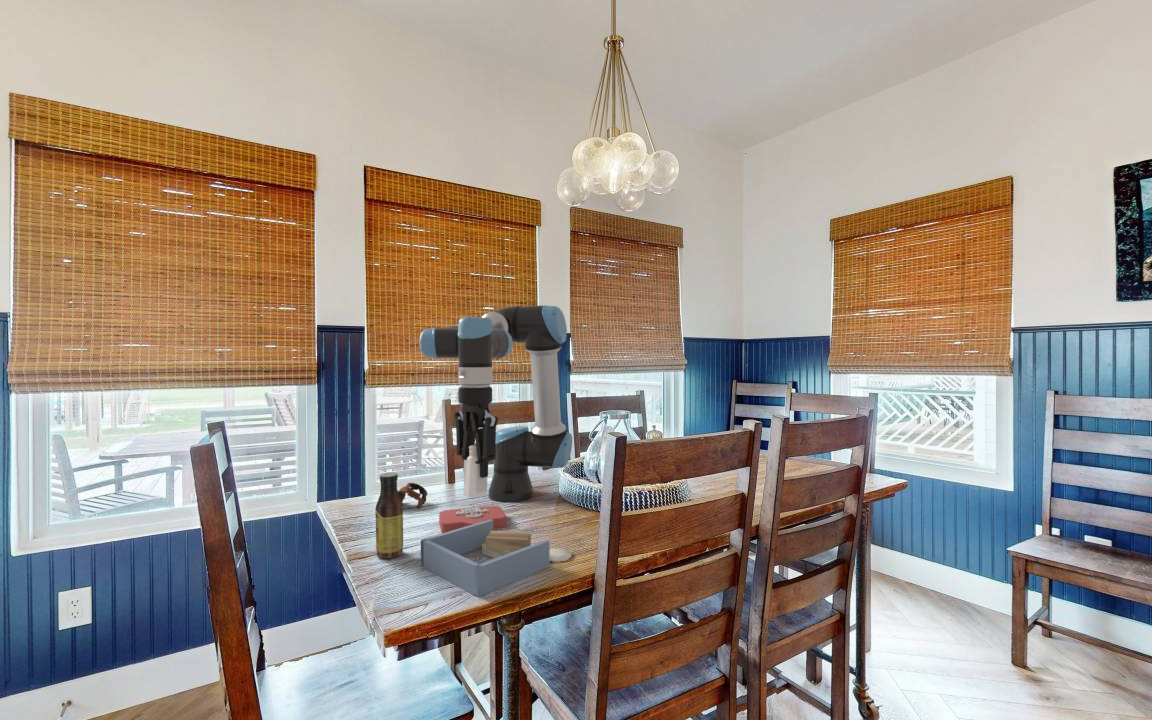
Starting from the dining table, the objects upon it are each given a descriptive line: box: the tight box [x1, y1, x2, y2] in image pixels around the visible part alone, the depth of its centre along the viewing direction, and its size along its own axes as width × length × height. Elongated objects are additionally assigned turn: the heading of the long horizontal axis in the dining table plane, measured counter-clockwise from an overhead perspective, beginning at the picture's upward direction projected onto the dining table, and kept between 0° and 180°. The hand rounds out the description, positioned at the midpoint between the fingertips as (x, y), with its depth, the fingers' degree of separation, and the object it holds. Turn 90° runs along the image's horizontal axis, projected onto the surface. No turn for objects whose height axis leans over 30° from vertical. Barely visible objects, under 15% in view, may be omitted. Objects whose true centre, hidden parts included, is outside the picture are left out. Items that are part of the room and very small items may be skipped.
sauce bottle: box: [374, 471, 404, 559], centre depth 125 cm, size 7×6×20 cm
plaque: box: [438, 505, 507, 534], centre depth 146 cm, size 18×4×15 cm
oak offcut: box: [486, 530, 532, 551], centre depth 124 cm, size 5×10×3 cm, turn 84°
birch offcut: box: [481, 543, 514, 559], centre depth 125 cm, size 5×13×3 cm, turn 57°
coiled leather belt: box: [397, 482, 428, 509], centre depth 163 cm, size 12×10×8 cm
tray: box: [420, 519, 550, 598], centre depth 119 cm, size 20×22×6 cm
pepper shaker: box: [462, 444, 488, 498], centre depth 116 cm, size 5×5×11 cm
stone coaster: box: [549, 547, 573, 563], centre depth 125 cm, size 7×7×1 cm
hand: (475, 489), depth 117 cm, fingers closed on pepper shaker, 4 cm apart
